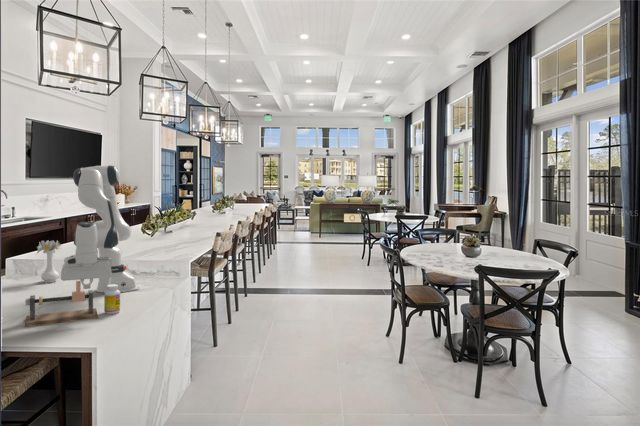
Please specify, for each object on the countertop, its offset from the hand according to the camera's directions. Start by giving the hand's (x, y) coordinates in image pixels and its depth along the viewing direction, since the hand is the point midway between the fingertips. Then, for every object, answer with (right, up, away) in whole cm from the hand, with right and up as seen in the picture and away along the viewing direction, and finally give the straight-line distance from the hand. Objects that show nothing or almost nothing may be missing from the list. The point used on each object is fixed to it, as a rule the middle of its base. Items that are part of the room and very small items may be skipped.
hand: (86, 288), depth 192 cm
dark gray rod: (-9, -6, -5) cm, 12 cm away
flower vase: (-56, -7, +62) cm, 84 cm away
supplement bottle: (+8, -13, +7) cm, 17 cm away
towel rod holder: (-9, -13, -4) cm, 16 cm away
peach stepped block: (-3, -5, -1) cm, 6 cm away
